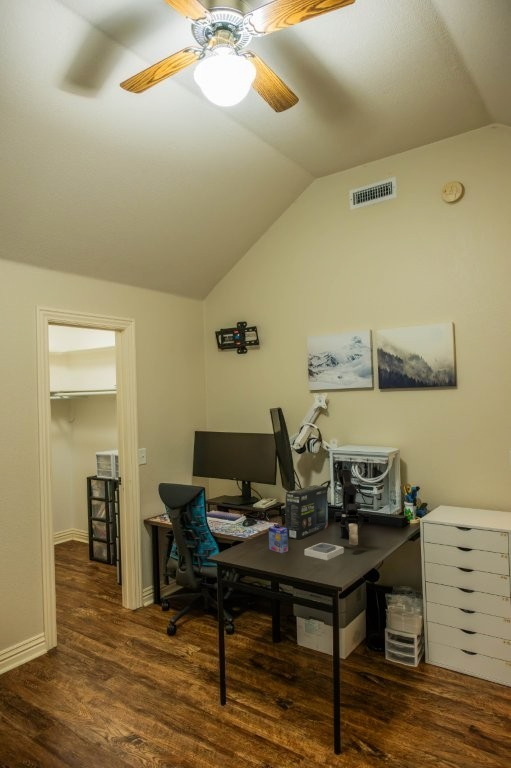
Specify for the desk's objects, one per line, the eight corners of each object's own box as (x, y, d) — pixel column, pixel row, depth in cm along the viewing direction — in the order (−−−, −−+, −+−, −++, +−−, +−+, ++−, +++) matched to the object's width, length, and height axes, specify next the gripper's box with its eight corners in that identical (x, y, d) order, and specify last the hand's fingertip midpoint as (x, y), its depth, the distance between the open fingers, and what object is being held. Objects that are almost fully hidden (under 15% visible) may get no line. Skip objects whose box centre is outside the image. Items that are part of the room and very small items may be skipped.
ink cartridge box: (268, 549, 261) (267, 522, 262) (275, 547, 265) (274, 521, 266) (281, 553, 254) (281, 525, 255) (288, 551, 258) (288, 523, 259)
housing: (304, 555, 251) (304, 547, 251) (321, 548, 263) (321, 540, 263) (327, 560, 241) (327, 552, 242) (343, 552, 253) (343, 545, 254)
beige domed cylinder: (347, 544, 250) (347, 524, 250) (352, 542, 253) (351, 523, 253) (355, 545, 247) (354, 525, 247) (359, 543, 250) (359, 524, 250)
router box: (300, 540, 279) (299, 494, 280) (284, 537, 285) (283, 492, 287) (329, 527, 308) (328, 485, 309) (314, 525, 314) (313, 484, 316)
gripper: (333, 497, 256) (335, 523, 244) (369, 497, 254) (373, 523, 242) (333, 509, 263) (335, 534, 252) (367, 509, 261) (371, 535, 250)
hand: (353, 531), depth 249 cm, fingers closed on beige domed cylinder, 4 cm apart
